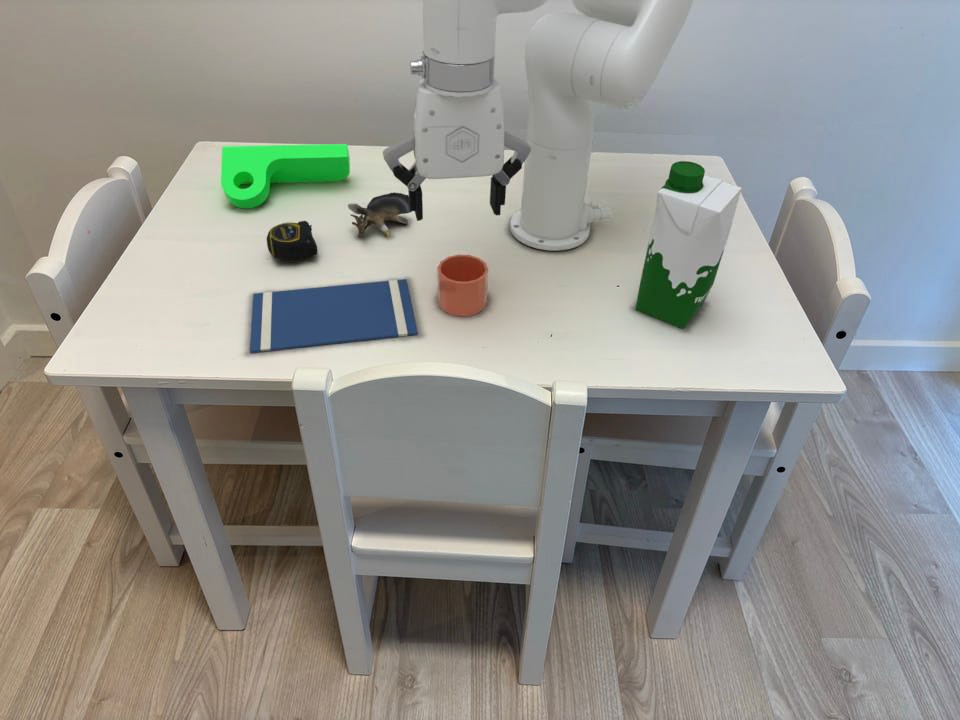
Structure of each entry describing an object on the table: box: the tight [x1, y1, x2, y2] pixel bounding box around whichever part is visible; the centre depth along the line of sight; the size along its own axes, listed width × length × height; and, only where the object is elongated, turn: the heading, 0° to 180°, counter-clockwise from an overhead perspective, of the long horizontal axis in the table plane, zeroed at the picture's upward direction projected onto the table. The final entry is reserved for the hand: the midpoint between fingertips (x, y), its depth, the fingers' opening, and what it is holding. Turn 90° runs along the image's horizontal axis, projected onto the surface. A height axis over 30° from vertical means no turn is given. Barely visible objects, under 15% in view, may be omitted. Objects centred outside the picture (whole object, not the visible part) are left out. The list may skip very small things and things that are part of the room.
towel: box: [249, 278, 419, 354], centre depth 92 cm, size 21×12×1 cm, turn 102°
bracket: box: [220, 143, 351, 210], centre depth 114 cm, size 20×10×7 cm
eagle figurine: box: [347, 191, 413, 238], centre depth 106 cm, size 8×7×9 cm
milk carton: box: [635, 160, 743, 330], centre depth 88 cm, size 9×9×20 cm
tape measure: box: [266, 220, 318, 263], centre depth 101 cm, size 7×7×4 cm
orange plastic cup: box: [436, 254, 489, 317], centre depth 93 cm, size 7×7×6 cm
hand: (456, 212), depth 85 cm, fingers open, 9 cm apart
